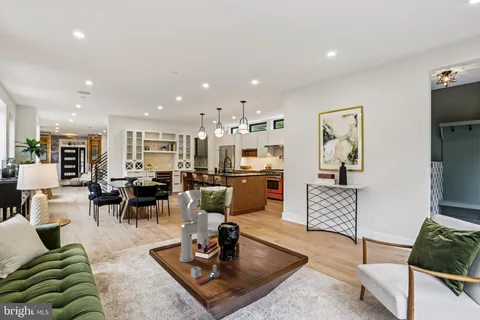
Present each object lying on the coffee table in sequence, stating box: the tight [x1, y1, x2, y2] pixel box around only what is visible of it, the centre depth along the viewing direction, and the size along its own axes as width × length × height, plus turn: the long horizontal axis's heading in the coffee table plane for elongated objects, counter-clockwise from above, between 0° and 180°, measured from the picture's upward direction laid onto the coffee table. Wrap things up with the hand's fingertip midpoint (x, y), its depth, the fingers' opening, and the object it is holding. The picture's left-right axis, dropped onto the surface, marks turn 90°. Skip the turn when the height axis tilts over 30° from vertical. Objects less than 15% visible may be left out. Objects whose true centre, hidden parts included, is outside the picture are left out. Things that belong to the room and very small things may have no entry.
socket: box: [190, 266, 202, 280], centre depth 190 cm, size 5×5×6 cm
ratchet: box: [195, 264, 220, 286], centre depth 186 cm, size 7×20×8 cm, turn 137°
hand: (202, 250), depth 190 cm, fingers open, 9 cm apart
